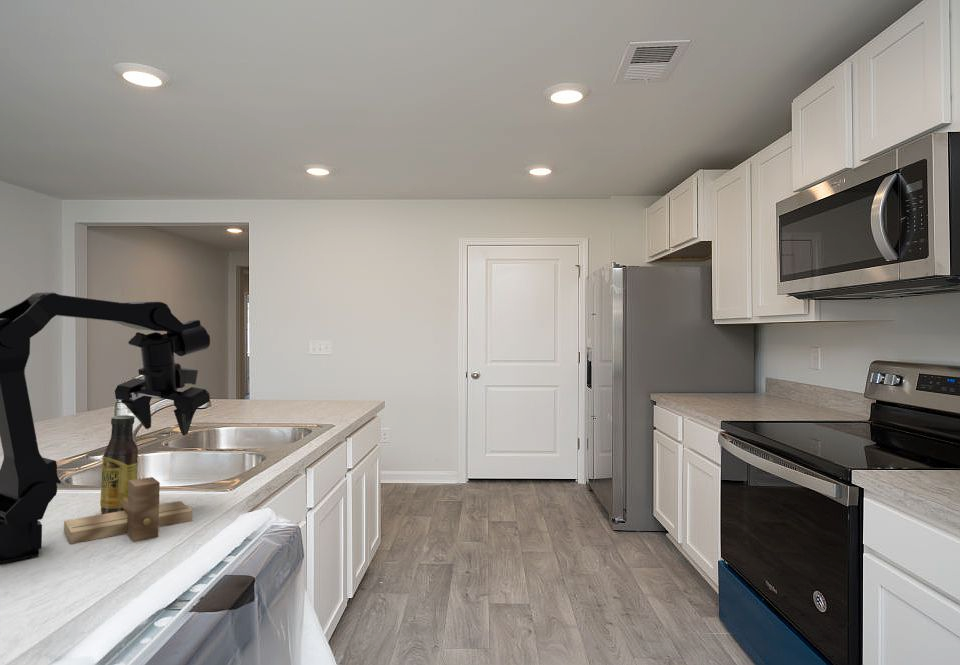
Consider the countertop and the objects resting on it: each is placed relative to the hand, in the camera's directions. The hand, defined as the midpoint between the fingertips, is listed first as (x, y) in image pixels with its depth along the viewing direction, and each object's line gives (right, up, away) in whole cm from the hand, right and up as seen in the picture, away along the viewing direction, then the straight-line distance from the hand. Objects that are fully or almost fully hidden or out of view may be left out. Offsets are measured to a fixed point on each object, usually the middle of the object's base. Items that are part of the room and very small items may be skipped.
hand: (166, 431), depth 121 cm
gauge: (+1, -16, -12) cm, 21 cm away
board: (-1, -16, -11) cm, 20 cm away
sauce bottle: (-8, -16, -3) cm, 19 cm away
